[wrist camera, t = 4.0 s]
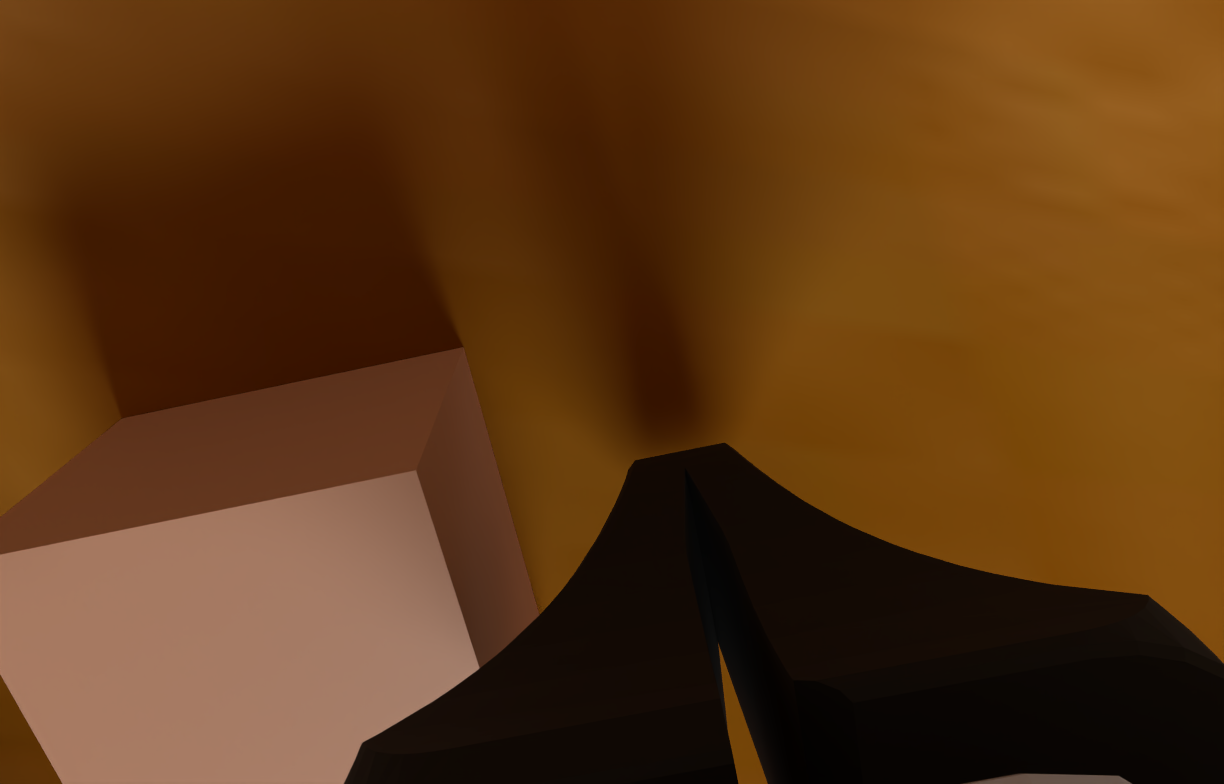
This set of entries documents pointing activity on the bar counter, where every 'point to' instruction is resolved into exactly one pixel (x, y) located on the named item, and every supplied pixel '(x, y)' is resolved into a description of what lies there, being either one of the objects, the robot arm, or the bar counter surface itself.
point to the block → (261, 579)
